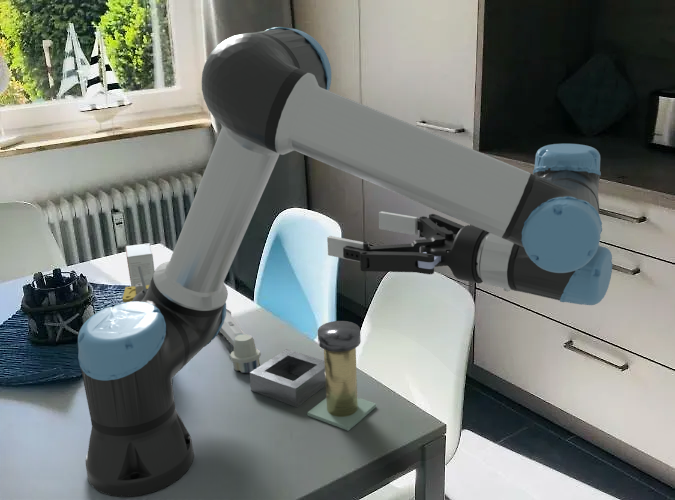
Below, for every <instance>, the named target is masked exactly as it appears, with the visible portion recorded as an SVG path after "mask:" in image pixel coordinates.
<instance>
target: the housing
mask: <svg viewBox="0 0 675 500" xmlns="http://www.w3.org/2000/svg"><path fill="white" fill-rule="evenodd" d="M288 374H292V375H294V376H298V378H296V379H295V380H291V379H288V378H286V377H285V376H286V375H288ZM249 382H250V391H251V392H254V393H257V394H260V395H262V396H264V397H268V398H269V399H273V400H276V401H279V402H281V403H284V404H287V405H290V406H291V407H292V406H293V407H295V408H298V407H299V406H301V405H303V404H304V402H306V401H307V400H309V399H310V398H312V396H314V395H315V394H316V393H318V392H320V391H321V390H322V389H324V388H326V382H325V363H324V359H319V358H317V357H314V356H310V355H307V354H304V353H300V352H298V351H294V350H291V349H287V348H286V349H285V350H283V351H281V352H280V353H278V354H276V355H275V356H273V357H272V358H270V359H268V360H267V361H266V362H263V363H262V364H260V365H259V367H258V368H256V369H254V370H253V371H251V372H249Z"/></svg>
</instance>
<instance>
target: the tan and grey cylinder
mask: <svg viewBox="0 0 675 500" xmlns="http://www.w3.org/2000/svg"><path fill="white" fill-rule="evenodd" d="M317 340H318V342H317V343H318V346H319V347H320V348H321V349H323V361H324V363H325V382H326V386H325V396H326V397H325V398H326V402H327V411H328V412H329V413H330V414H331V415H334V416H338V417H345V416H350V415H352V414H354V413H355V412H356V411H357V409H358V400H357V397H358V379H357V376H358V375H357V349H356V348H358V347H359V345H360V344H361V342H362V341H361V328H360V326H359V325H358V324H356V323H354V322H352V321H347V320H335V321H330V322H326V323H323V324H322V325H320V326H319V327H318V328H317Z"/></svg>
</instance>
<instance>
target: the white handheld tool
mask: <svg viewBox="0 0 675 500" xmlns="http://www.w3.org/2000/svg"><path fill="white" fill-rule="evenodd" d="M219 333H220V334H221V335H223V336H224V338H226V340H227V341H228V342H229V343H230V344H231V345H232V347H233V351H231V352H230V354H229V356H230V359H231V361H232V363H233V370H235V371H236V372H237V371H240V373H250V372H251V371H253V370H254V369H256V368H258V367H259V366H261V363H260V357H261V350H259V348H256V344H255V340H254V337H253V336H252V335H251V334H247V333H245V332H244V331H243V330H242V328H241V326H240V325H239V324H238V322H237V321H236V320H235V318H234V317H233V316H232V311H231V310H229V309H228V308H226V317H225V321H224V323H223V325H222V327H221V329H220V331H219Z"/></svg>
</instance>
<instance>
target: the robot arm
mask: <svg viewBox="0 0 675 500" xmlns="http://www.w3.org/2000/svg"><path fill="white" fill-rule="evenodd" d="M331 85H332V67H331V63H330V61H329V58H328V55H327V53H326V51H325V49H324V47H322V45H321V44H320V43H319V42H318V41H317V40H316V39H315V38H314V37H313V36H311V34H308V33H306V32H305V31H302V30H300V29H296V28H292V27H291V28H289V27H283V26H278V27H277V26H275V27H271V28H268V29H266V30H264V31H263V30H262V31H257V32H255V31H254V32H246V33H241V34H236V35H232V36H230V37H228V38H227V39H224V40H223V41H221V42H220V43H219V44H218V45H216V46H215V48H214V49H213V50H212V51H211V52H210V53H209V55H208V57H207V59H206V61H205V63H204V66H203V69H202V73H201V92H202V96H203V100H204V102H205V104H206V107H207V109H208V111H209V113H210V114H211V115H212V117H213V118H214V119H215V120H216V121H217V122H218V123H219V124H220V125H221V127H220V128H221V129H220V131H219V134H218V136H217V139H216V142H215V144H214V146H213V149H212V152H211V155H210V157H209V159H208V162H207V164H206V167H205V169H204V172H203V175H202V178H201V179H200V181H199V185H198V188H197V191H196V193H195V194H194V195H195V196H194V198H193V201H192V203H191V204H190V205H191V206H190V208H189V211H188V214H187V216H186V217H185V218H186V219H185V221H184V224H183V226H182V229H181V231H180V234H179V236H178V239H177V241H176V244H175V246H174V249H173V251H172V254H171V257H170V259H169V261H167V262H166V261H165V262H163V263H161V264H159V265H158V266H157V267H156V268H155V269H154V270H155V272H154V274H153V277H152V279H151V282H150V285H149V287H148V290H147V292H146V295H145V297H144V298H143V300H142V301H141V302H139V301H131V302H121V303H117V304H114V306H113V307H105V308H102V309H100V310H99V311H97V312H95V313H94V314H93V315H91V316H90V317H89V318H88V319H87V320H86V321H85V322H84V323H83V324H82V326H80V329H79V331H78V335H77V349H78V355H77V356H78V357H77V359H78V363H79V364H78V365H79V367H80V370H81V374H82V380H83V386H84V391H85V397H86V402H87V407H88V412H89V417H90V421H91V422H90V423H91V431H90V437H89V441H88V443H89V444H88V451H87V452H86V457H85V468H86V469H85V470H86V475H87V479H88V482H89V484H90V485H91V487H92V488H94V489H95V490H97V491H98V492H100V493H102V494H105V495H108V496H114V497H121V498H122V497H123V498H124V497H136V496H143V495H148V494H151V493H154V492H157V491H160V490H162V489H165V488H167V487H168V486H170V485H172V484H173V483H175V482H176V481H178V480H179V479H181V478H182V477H183V476H184V475H185V474H186V473H187V472H188V470H189V469H190V467H191V466H192V464H193V462H194V456H195V454H194V453H195V452H194V445H193V440H192V437H191V434H190V433H189V431H188V429H187V427H186V425H185V423H184V421H183V420H182V418H181V416H180V415H179V413H178V411H177V408H176V401H175V396H174V389H173V388H174V386H173V378H174V377H175V376H176V375H177V374H178V373H179V372H180V371H181V370H182V369H183V368H184V367H186V365H187V364H188V363H189V362H190V361H191V360H193V358H194V357H195V356H196V355H197V354H198V353H200V351H201V350H203V348H205V347H206V346H208V345H209V344H211V342H212V341H214V339H215V338H217V336H218V334H219V333H220V329H221V327H222V325H223V323H224V321H225V317H226V309H227V303H226V302H227V300H228V293H229V292H228V289H227V286H226V285H225V281H226V278H227V275H228V273H229V271H230V269H231V266H232V264H233V262H234V259H235V257H236V255H237V253H238V250H239V248H240V246H241V244H242V241H243V239H244V236H245V234H246V232H247V230H248V228H249V225H250V223H251V220H252V218H253V216H254V213H255V212H256V209H257V207H258V206H259V205H258V204H259V202H260V200H261V198H262V195H263V193H264V191H265V189H266V187H267V184H268V182H269V179H270V178H271V175H272V173H273V171H274V168H275V166H276V163H277V161H278V159H279V157H280V155H281V156H284V155H287V154H289V153H291V152H298V153H299V154H302V155H304V156H307V157H310V158H312V159H314V160H315V161H316V160H317V161H319V162H321V163H323V164H325V165H328V166H330V167H333V168H335V169H337V170H340V171H342V172H344V173H346V174H350V175H352V176H353V177H354V176H355V177H357V178H359V179H362V180H364V181H367V182H369V183H371V184H373V185H376V186H378V187H380V188H383V189H385V190H388V191H390V192H392V193H394V194H397V195H399V196H401V197H405V198H407V199H409V200H410V201H411V200H412V201H414V202H416V203H418V204H420V205H423V206H426V207H428V208H429V209H433V210H435V211H438V212H440V213H441V214H444V215H446V216H449V217H451V218H453V219H456V220H458V221H461V222H463V223H465V224H468V225H463V224H460V223H457V222H456V221H452V220H450V219H448V218H446V217H443V216H440V215H438V214H435V213H430V214H429V215H428V217H427V216H424V215H423V216H420V217H418V216H411V215H408V214H407V215H406V214H400V213H394V212H387V211H379V212H378V229H379V230H381V231H384V230H385V231H388V232H389V231H390V232H394V233H398V234H399V233H400V234H404V235H406V234H407V235H411V236H417V235H419V236H418V237H419V239H415V240H413V241H412V242H411V243H403V244H402V243H400V244H398V243H397V244H385V245H370V244H369V242H368V241H359V240H354V239H353V240H352V239H348V238H344V237H340V236H333V235H329V236H328V237H327V239H326V240H327V255H328V256H331V257H336V258H339V259H344V260H347V261H353V262H358V263H359V266H360V271H361V272H378V273H379V272H383V273H387V272H388V273H418V274H423V275H433V274H435V267H448V268H449V270H450V271H451V273H452V275H453V277H455V279H458V280H459V281H460V280H461V281H465V282H469V283H473V284H474V283H476V284H482V283H483V284H484V285H486V286H491V287H495V288H500V289H503V291H504V292H510V291H514V292H521V293H524V294H529V295H534V296H539V297H543V298H547V299H552V300H556V301H559V302H560V303H569V304H575V305H585V306H594V305H595V306H596V305H597V304H599V303H600V302H601V301H602V300H603V299H604V298H605V296H606V294H607V292H608V290H609V285H610V281H611V278H612V273H613V262H612V260H613V255H612V251H611V250H610V249H609V248H608V247H606V246H602V245H600V240H601V234H602V231H603V223H602V219H601V216H600V201H599V186H600V177H601V175H602V174H601V172H602V171H600V170H601V154H600V152H599V150H597V149H596V148H595V147H592V146H589V145H587V144H586V145H585V144H579V143H553V144H547V145H544V146H542V147H540V148H539V149H538V150H537V151H536V153H535V159H534V167H533V168H534V169H533V170H532V173H531V172H529V171H527V170H524V169H522V168H519V167H517V166H515V165H512V164H509V163H507V162H504V161H502V160H501V159H497V158H495V157H493V156H491V155H487V154H485V153H483V152H481V151H478V150H475V149H473V148H471V147H468V146H465V145H463V144H461V143H458V142H456V141H453V140H451V139H448V138H446V137H444V136H441V135H439V134H436V133H433V132H431V131H429V130H427V129H424V128H421V127H420V126H419V127H418V126H416V125H413V124H411V123H409V122H407V121H404V120H401V119H400V118H397V117H394V116H392V115H390V114H387V113H384V112H382V111H379V110H377V109H374V108H372V107H369V106H368V105H365V104H363V103H360V102H357V101H355V100H352V99H350V98H348V97H345V96H343V95H340V94H339V93H335V92H333V91H331V90H330V88H331ZM418 231H419V232H418ZM421 238H424V239H421ZM369 245H370V246H369Z"/></svg>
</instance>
